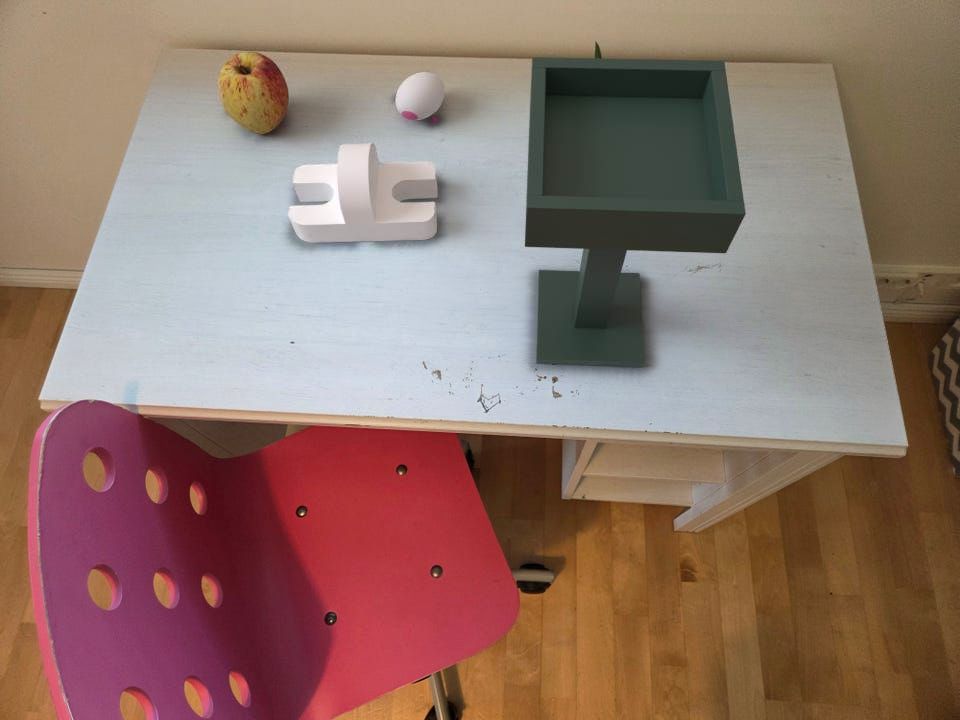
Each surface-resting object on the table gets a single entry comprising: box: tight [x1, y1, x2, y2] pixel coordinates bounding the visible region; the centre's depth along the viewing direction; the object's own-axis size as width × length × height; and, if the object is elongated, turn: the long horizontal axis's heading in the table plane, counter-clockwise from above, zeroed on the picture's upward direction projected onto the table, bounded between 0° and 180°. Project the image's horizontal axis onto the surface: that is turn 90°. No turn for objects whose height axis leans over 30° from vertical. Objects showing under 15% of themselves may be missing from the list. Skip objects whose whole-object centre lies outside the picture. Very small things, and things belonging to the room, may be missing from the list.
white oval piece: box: [394, 71, 446, 124], centre depth 95 cm, size 8×8×7 cm
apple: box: [217, 51, 290, 135], centre depth 92 cm, size 9×9×10 cm
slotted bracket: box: [287, 142, 439, 244], centre depth 85 cm, size 18×10×10 cm, turn 91°
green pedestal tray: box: [524, 56, 747, 368], centre depth 68 cm, size 16×16×30 cm
